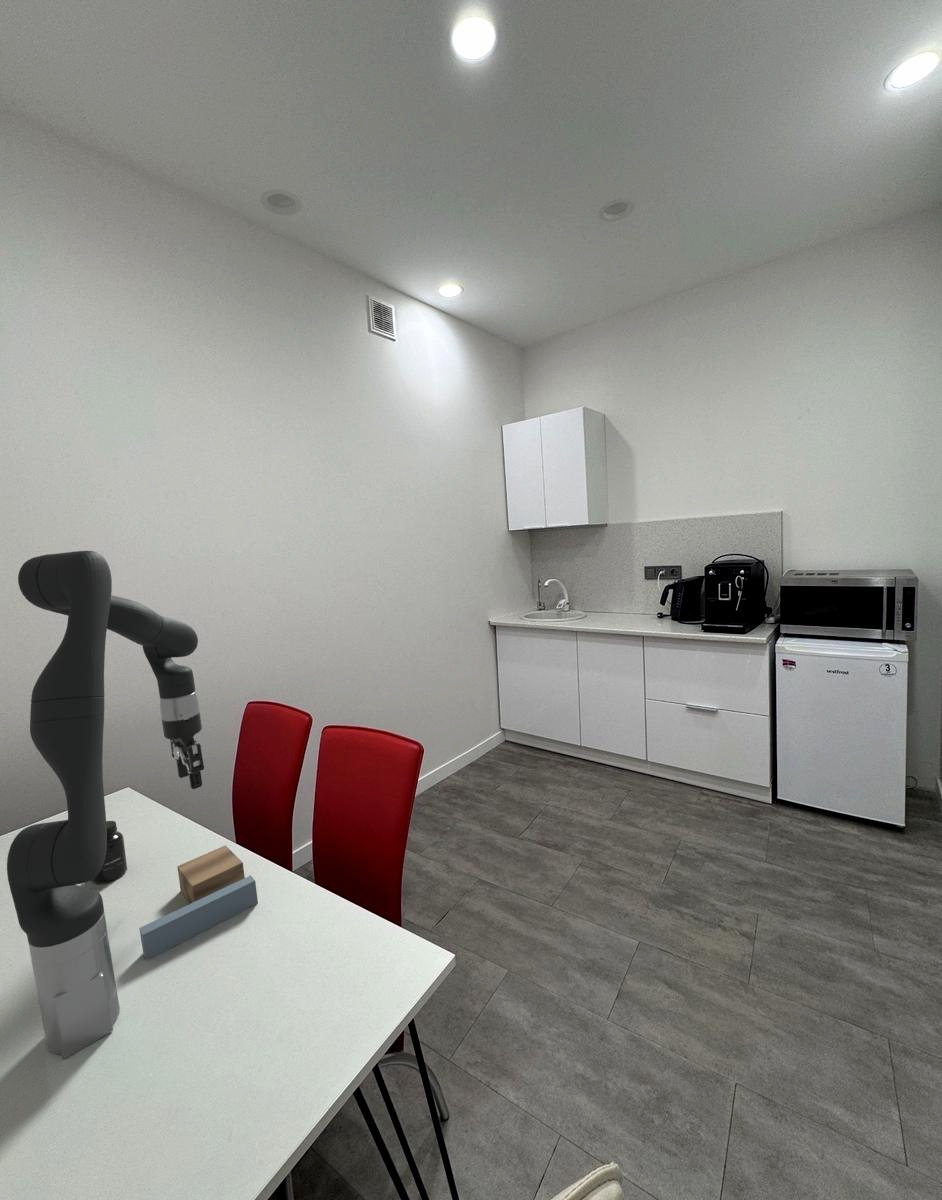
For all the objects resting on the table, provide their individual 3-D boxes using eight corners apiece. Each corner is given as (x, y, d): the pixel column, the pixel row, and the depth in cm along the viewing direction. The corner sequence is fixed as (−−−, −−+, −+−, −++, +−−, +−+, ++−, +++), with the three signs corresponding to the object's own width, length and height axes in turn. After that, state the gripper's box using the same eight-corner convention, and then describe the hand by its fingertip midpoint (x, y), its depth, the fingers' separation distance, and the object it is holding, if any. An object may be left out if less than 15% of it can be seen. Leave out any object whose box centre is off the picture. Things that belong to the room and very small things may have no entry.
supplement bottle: (114, 884, 117) (106, 833, 116) (84, 885, 117) (76, 835, 116) (134, 865, 124) (127, 817, 123) (106, 866, 124) (98, 818, 123)
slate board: (257, 903, 108) (255, 880, 107) (146, 960, 94) (142, 934, 94) (253, 897, 110) (250, 875, 109) (143, 953, 96) (139, 927, 96)
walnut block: (246, 888, 113) (242, 862, 112) (196, 913, 106) (192, 886, 105) (228, 869, 120) (225, 845, 119) (180, 892, 113) (177, 866, 113)
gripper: (152, 712, 120) (162, 779, 122) (171, 725, 110) (182, 798, 112) (188, 703, 125) (197, 767, 127) (209, 715, 115) (219, 784, 117)
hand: (190, 781), depth 120 cm, fingers open, 8 cm apart
